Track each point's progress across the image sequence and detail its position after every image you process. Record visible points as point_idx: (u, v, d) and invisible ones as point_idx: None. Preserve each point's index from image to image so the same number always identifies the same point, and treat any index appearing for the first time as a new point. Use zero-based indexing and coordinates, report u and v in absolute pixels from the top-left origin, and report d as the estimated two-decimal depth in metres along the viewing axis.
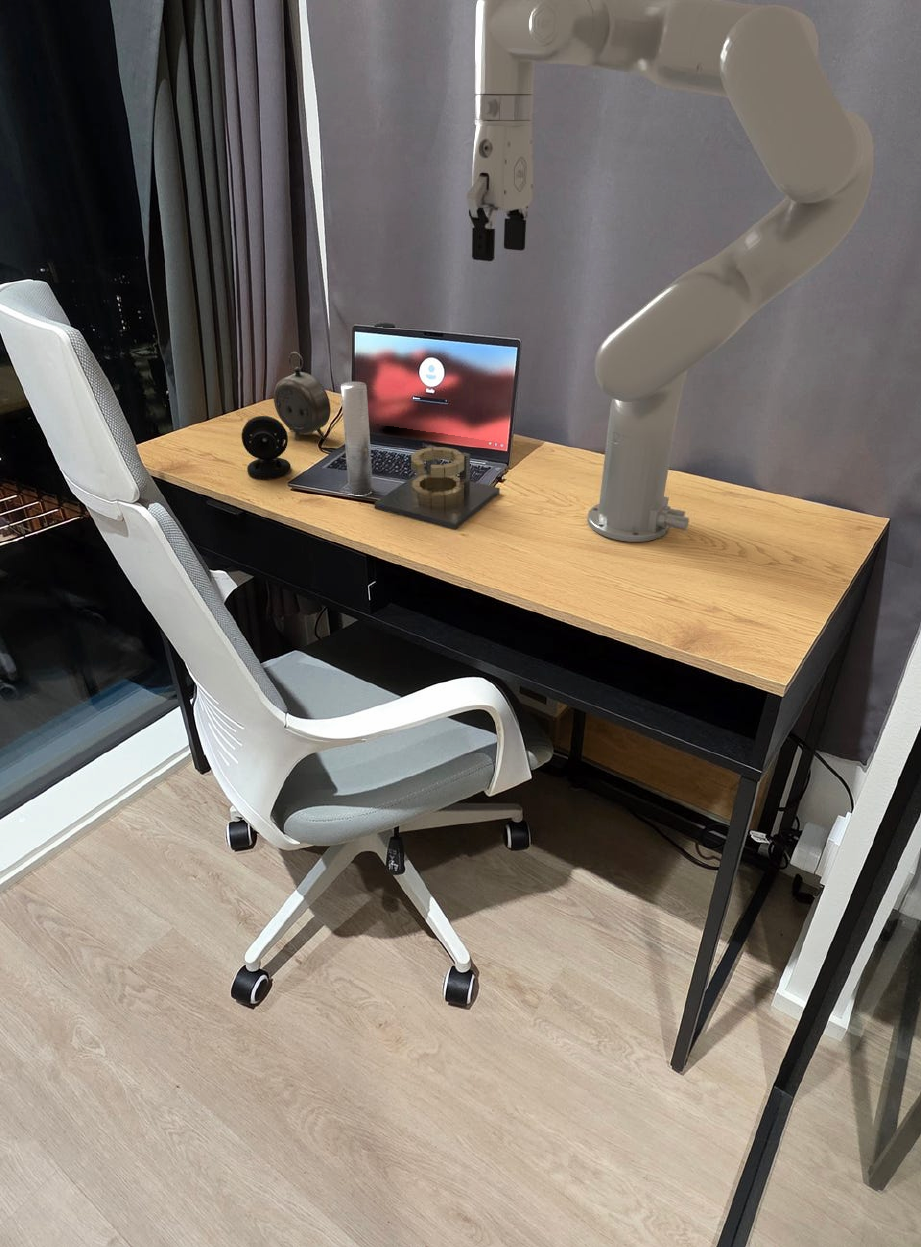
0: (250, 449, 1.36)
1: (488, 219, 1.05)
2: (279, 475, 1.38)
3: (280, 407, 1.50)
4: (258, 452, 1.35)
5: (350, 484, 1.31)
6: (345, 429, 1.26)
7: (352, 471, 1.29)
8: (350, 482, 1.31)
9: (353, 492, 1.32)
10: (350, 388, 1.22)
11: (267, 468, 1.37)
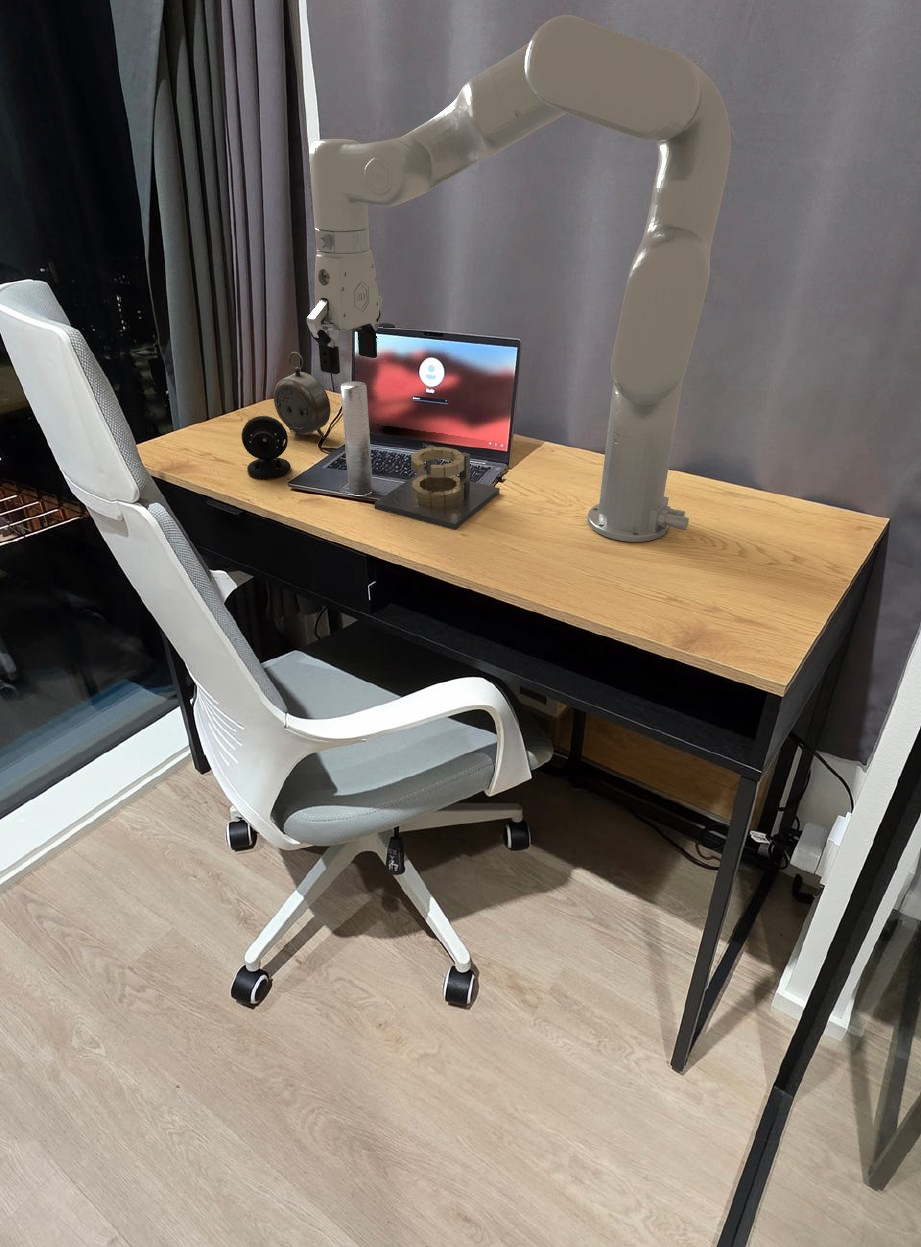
0: (250, 449, 1.36)
1: (330, 339, 1.14)
2: (279, 475, 1.38)
3: (280, 407, 1.50)
4: (258, 452, 1.35)
5: (350, 484, 1.31)
6: (345, 429, 1.26)
7: (352, 471, 1.29)
8: (350, 482, 1.31)
9: (353, 492, 1.32)
10: (350, 388, 1.22)
11: (267, 468, 1.37)
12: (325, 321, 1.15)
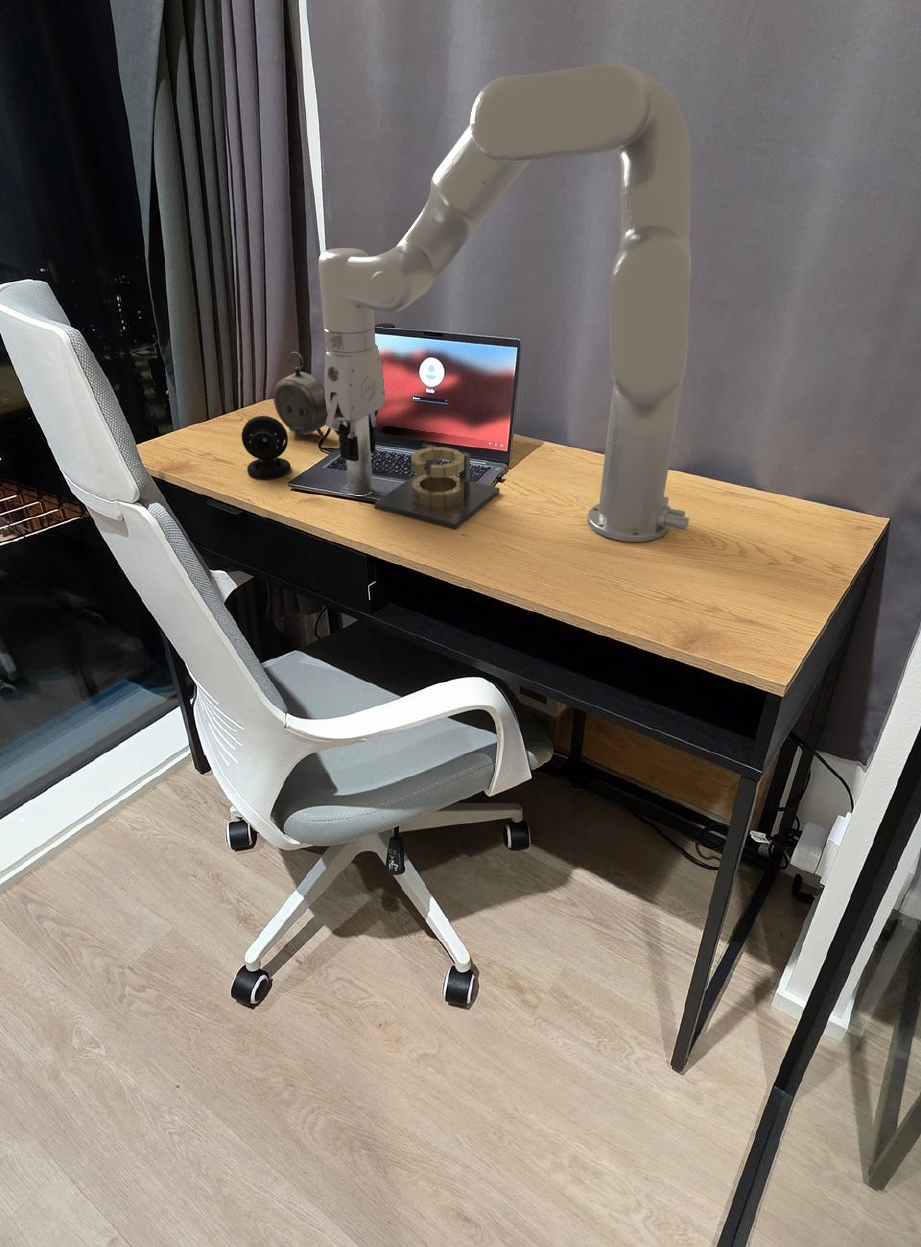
0: (250, 449, 1.36)
1: (349, 433, 1.24)
2: (279, 475, 1.38)
3: (280, 407, 1.50)
4: (258, 452, 1.35)
5: (350, 484, 1.31)
6: None
7: (352, 471, 1.29)
8: (350, 482, 1.31)
9: (353, 492, 1.32)
10: None
11: (267, 468, 1.37)
12: None
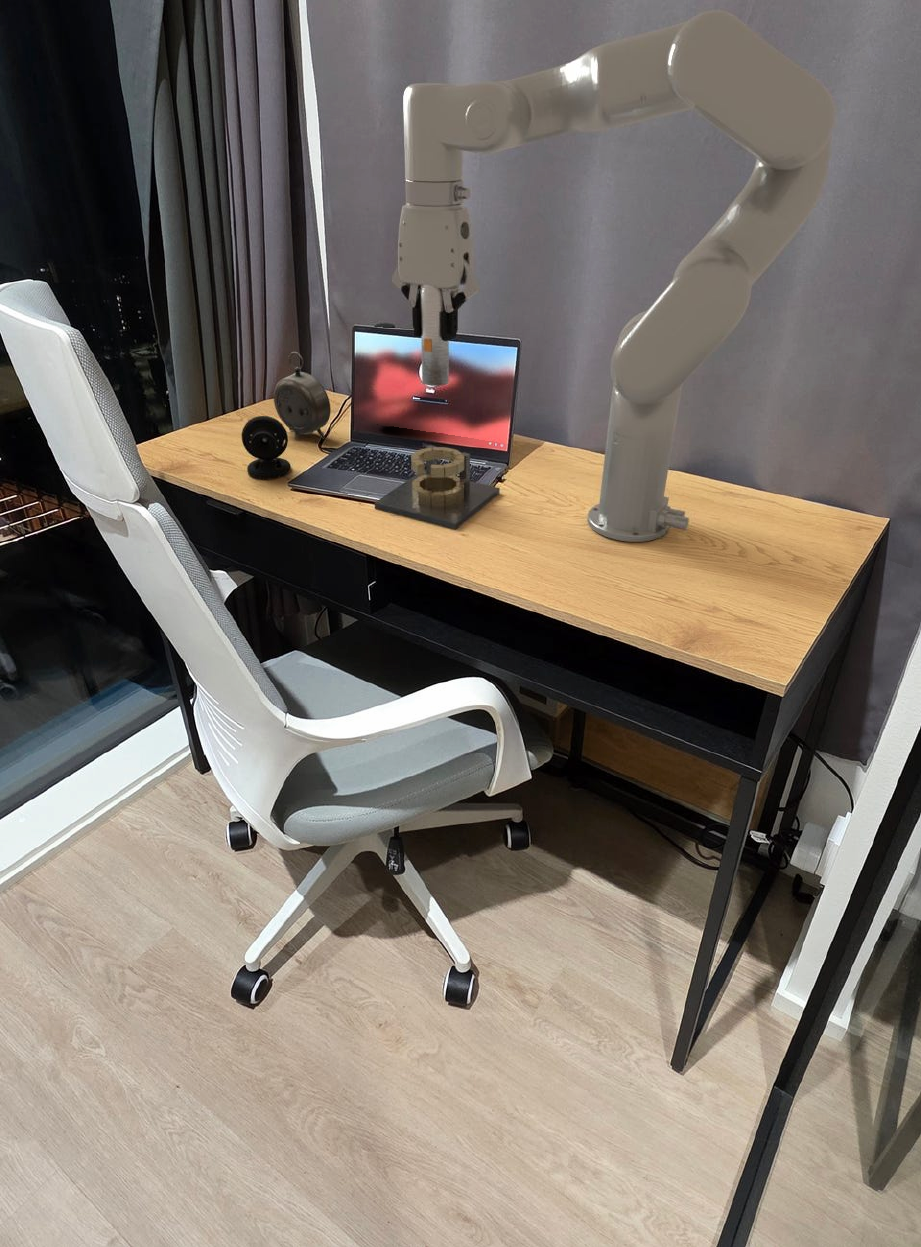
0: (250, 449, 1.36)
1: None
2: (279, 475, 1.38)
3: (280, 407, 1.50)
4: (258, 452, 1.35)
5: (443, 371, 1.17)
6: (442, 305, 1.12)
7: (447, 353, 1.16)
8: (444, 369, 1.17)
9: (446, 379, 1.18)
10: None
11: (267, 468, 1.37)
12: None
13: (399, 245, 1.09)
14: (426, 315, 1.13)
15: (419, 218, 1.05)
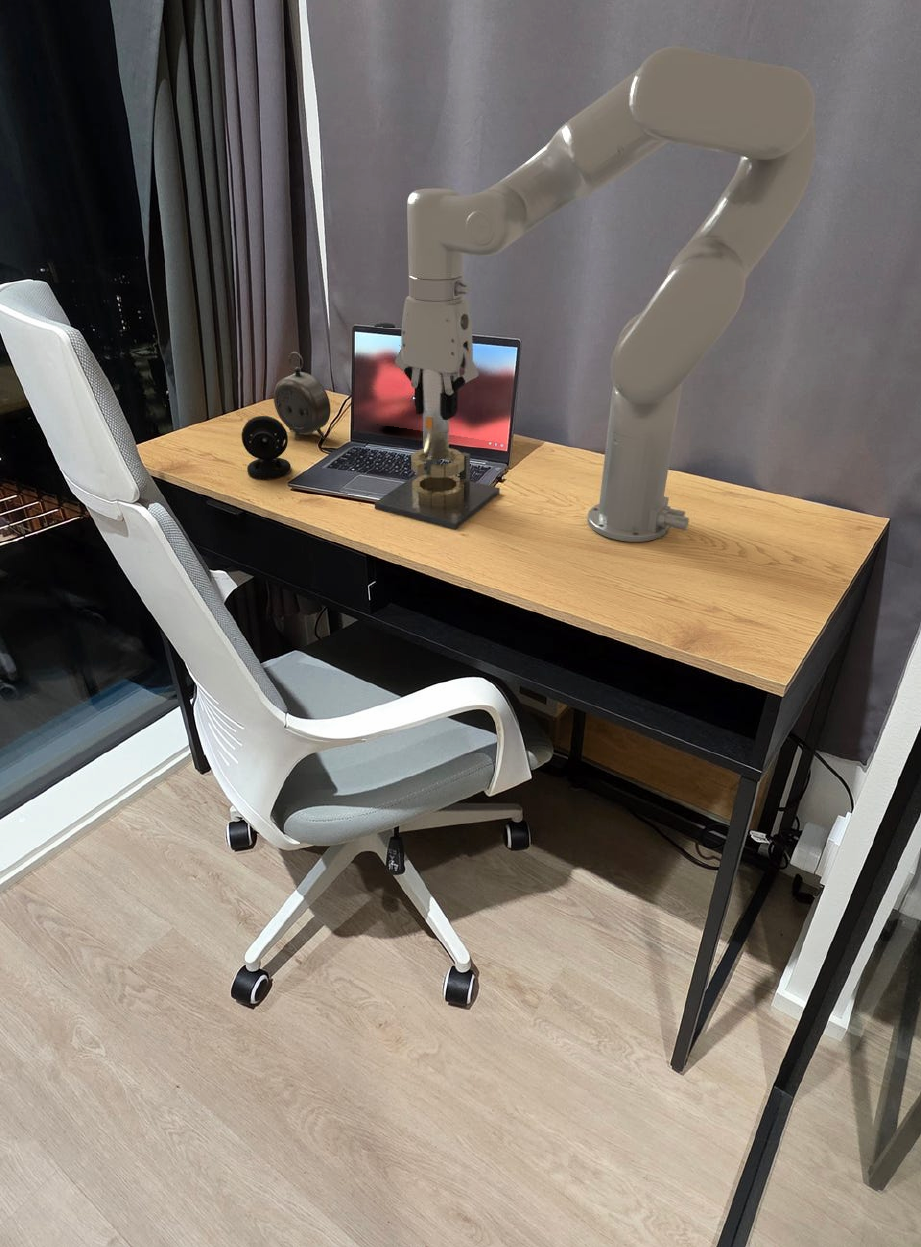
0: (250, 449, 1.36)
1: None
2: (279, 475, 1.38)
3: (280, 407, 1.50)
4: (258, 452, 1.35)
5: (444, 447, 1.24)
6: (443, 387, 1.18)
7: (447, 430, 1.23)
8: (444, 444, 1.24)
9: (446, 453, 1.25)
10: None
11: (267, 468, 1.37)
12: None
13: (402, 332, 1.16)
14: (428, 397, 1.19)
15: (422, 310, 1.12)
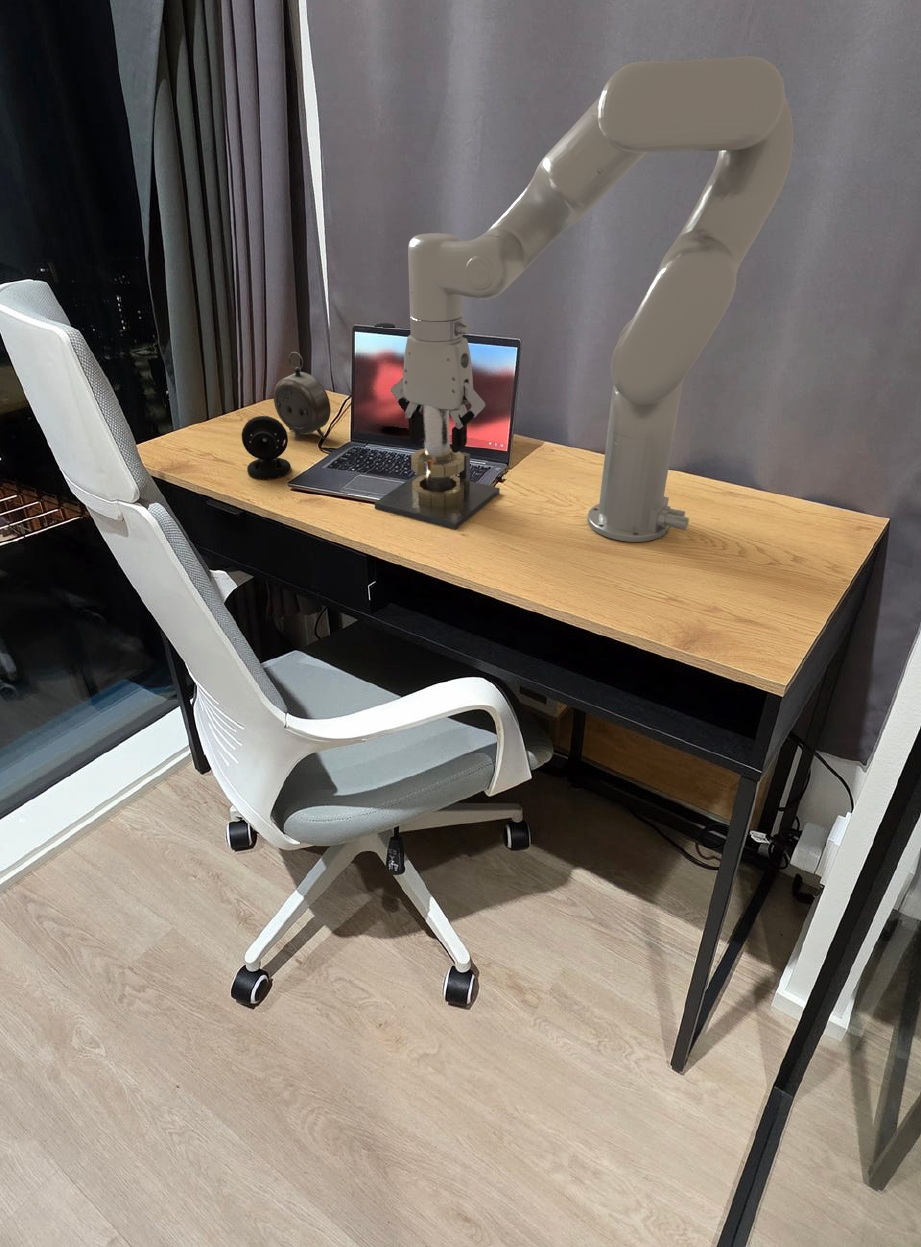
0: (250, 449, 1.36)
1: None
2: (279, 475, 1.38)
3: (280, 407, 1.50)
4: (258, 452, 1.35)
5: (446, 487, 1.28)
6: (443, 431, 1.22)
7: None
8: (446, 485, 1.27)
9: None
10: None
11: (267, 468, 1.37)
12: None
13: (404, 370, 1.19)
14: (429, 440, 1.23)
15: (423, 349, 1.15)
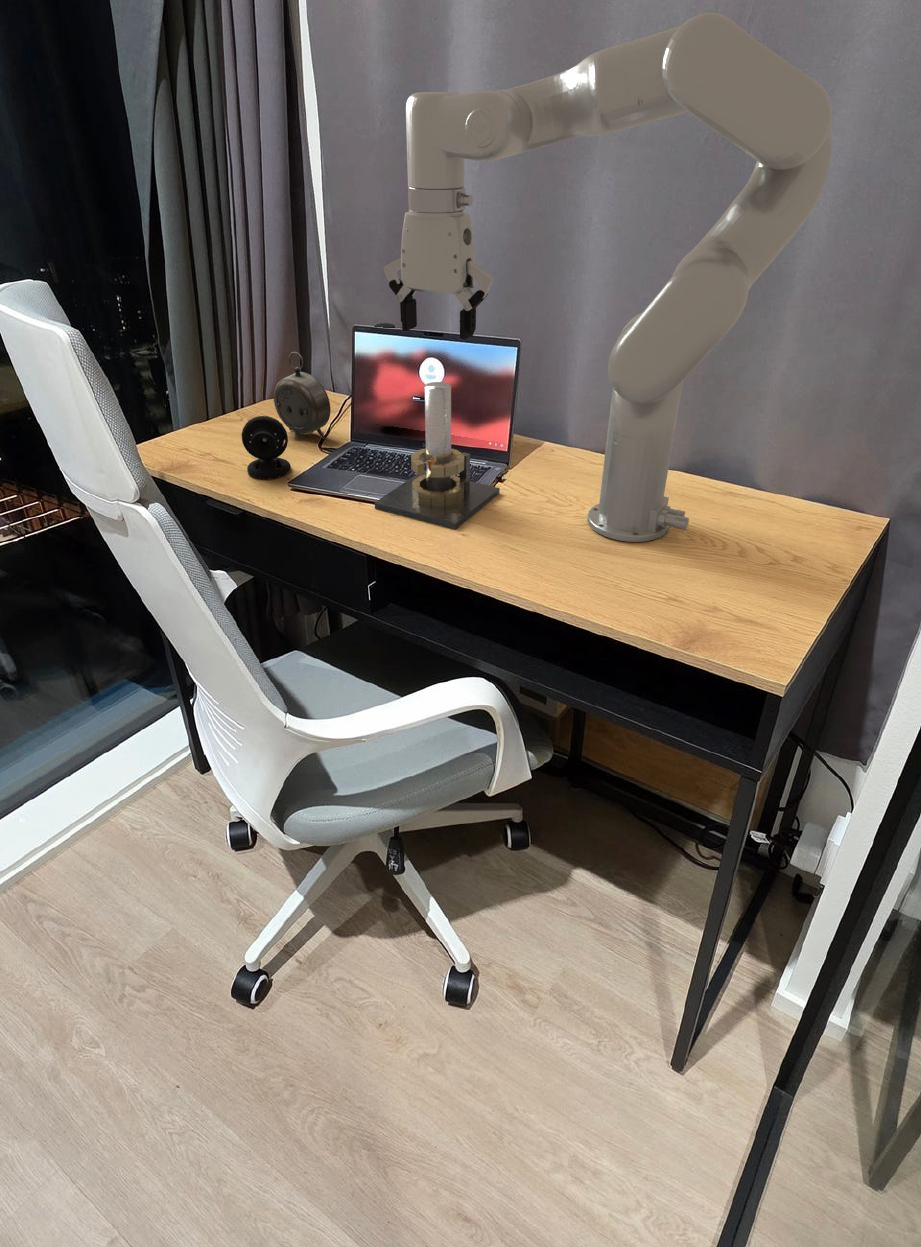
0: (250, 449, 1.36)
1: None
2: (279, 475, 1.38)
3: (280, 407, 1.50)
4: (258, 452, 1.35)
5: (446, 488, 1.28)
6: (445, 432, 1.22)
7: None
8: (446, 486, 1.27)
9: None
10: (448, 386, 1.20)
11: (267, 468, 1.37)
12: None
13: (402, 251, 1.11)
14: (431, 441, 1.23)
15: (422, 224, 1.07)
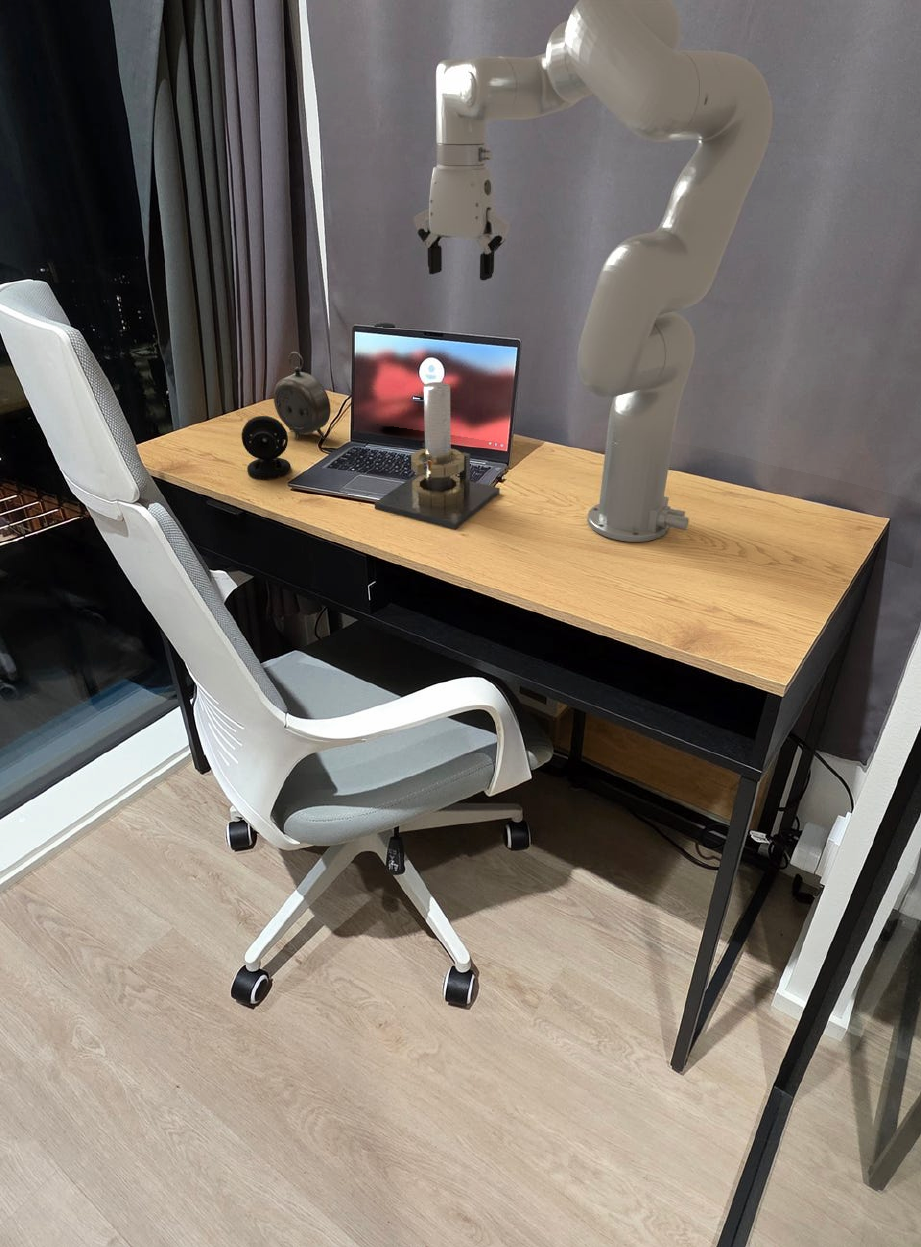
0: (250, 449, 1.36)
1: None
2: (279, 475, 1.38)
3: (280, 407, 1.50)
4: (258, 452, 1.35)
5: (446, 488, 1.28)
6: (444, 432, 1.22)
7: None
8: (446, 486, 1.27)
9: None
10: (447, 386, 1.20)
11: (267, 468, 1.37)
12: None
13: (430, 202, 1.26)
14: (430, 441, 1.23)
15: (448, 177, 1.23)
